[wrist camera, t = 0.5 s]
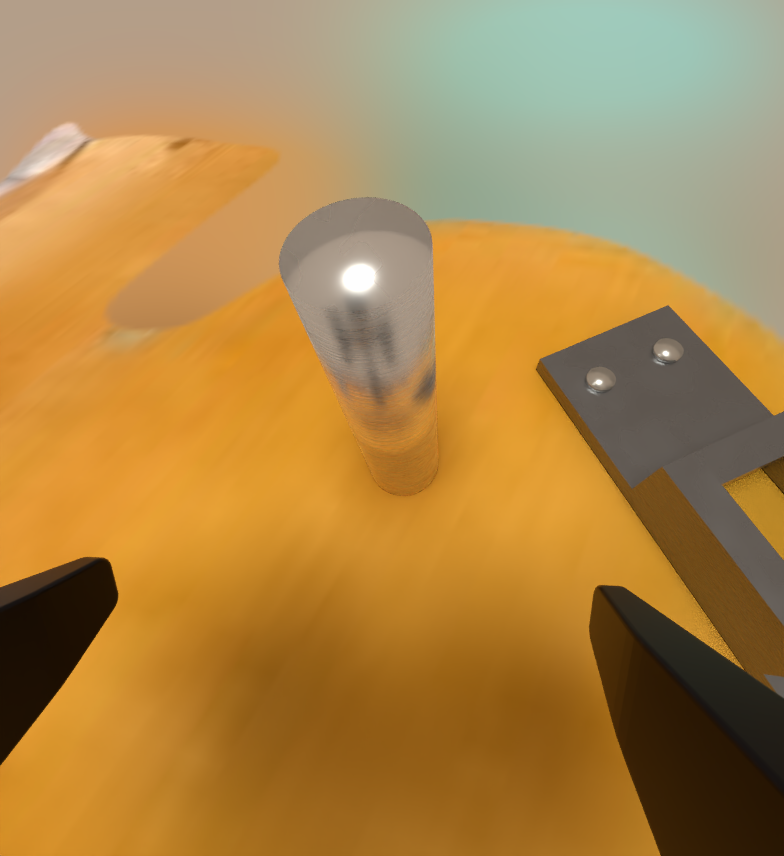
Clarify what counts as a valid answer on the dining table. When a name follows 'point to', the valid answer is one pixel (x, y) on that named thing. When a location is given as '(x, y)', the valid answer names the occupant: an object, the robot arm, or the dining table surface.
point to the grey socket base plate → (685, 467)
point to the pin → (373, 328)
